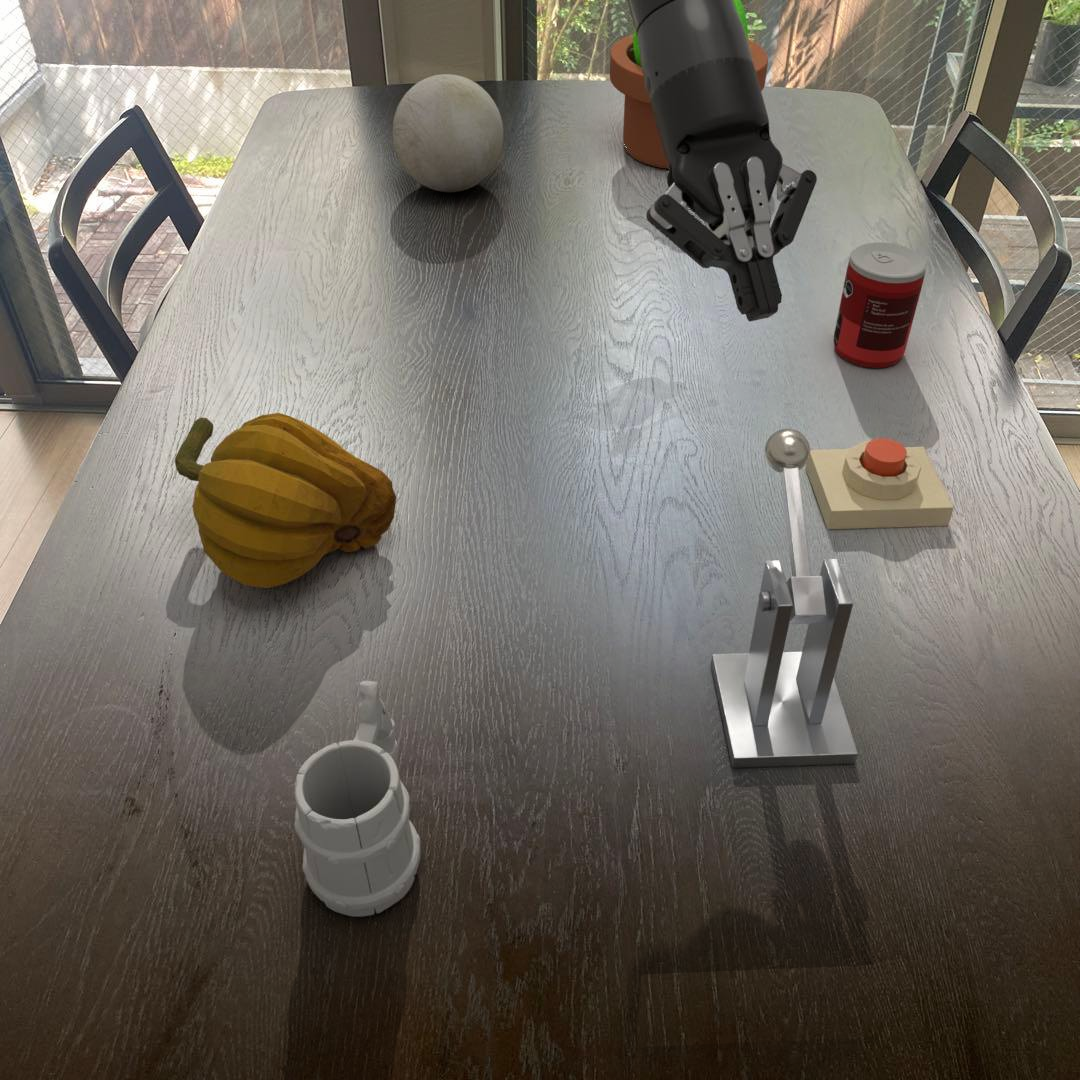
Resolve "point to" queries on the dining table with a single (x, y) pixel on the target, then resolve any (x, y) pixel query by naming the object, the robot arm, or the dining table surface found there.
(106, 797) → the dining table surface
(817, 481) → the button box
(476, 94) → the decorative sphere
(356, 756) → the mug
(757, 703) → the metal lever switch
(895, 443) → the button
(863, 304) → the canned food
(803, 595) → the grey lever handle
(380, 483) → the pumpkin
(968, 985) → the dining table surface
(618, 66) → the potted cactus
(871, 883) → the dining table surface
